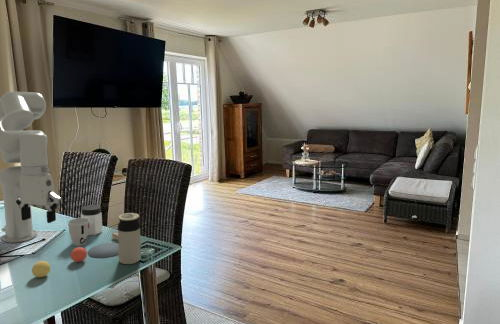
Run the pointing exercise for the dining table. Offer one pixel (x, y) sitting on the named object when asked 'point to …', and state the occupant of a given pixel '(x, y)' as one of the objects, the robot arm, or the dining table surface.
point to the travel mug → (129, 238)
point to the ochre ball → (41, 269)
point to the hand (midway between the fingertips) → (39, 220)
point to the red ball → (78, 254)
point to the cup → (79, 230)
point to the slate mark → (104, 250)
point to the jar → (93, 218)
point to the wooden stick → (115, 237)
